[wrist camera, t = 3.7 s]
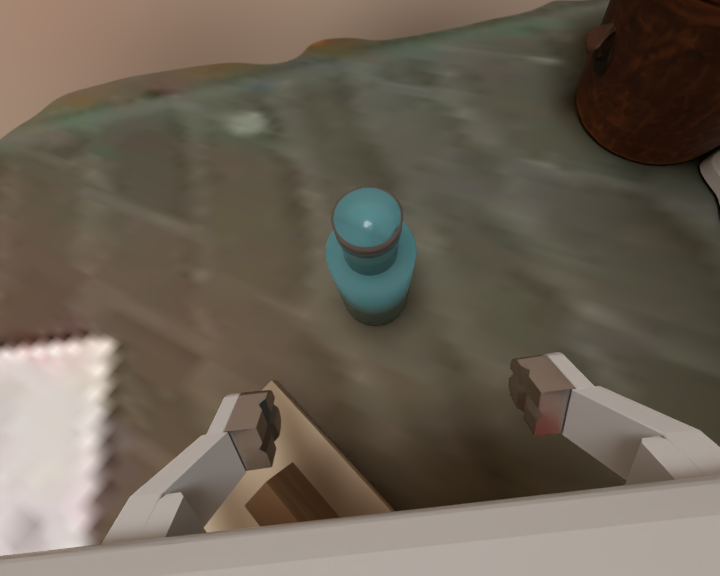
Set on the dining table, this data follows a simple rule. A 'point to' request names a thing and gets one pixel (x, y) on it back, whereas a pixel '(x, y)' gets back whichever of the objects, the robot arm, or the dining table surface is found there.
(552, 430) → the robot arm
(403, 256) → the teal bottle
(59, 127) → the dining table surface
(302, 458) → the bottle stand
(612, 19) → the case
